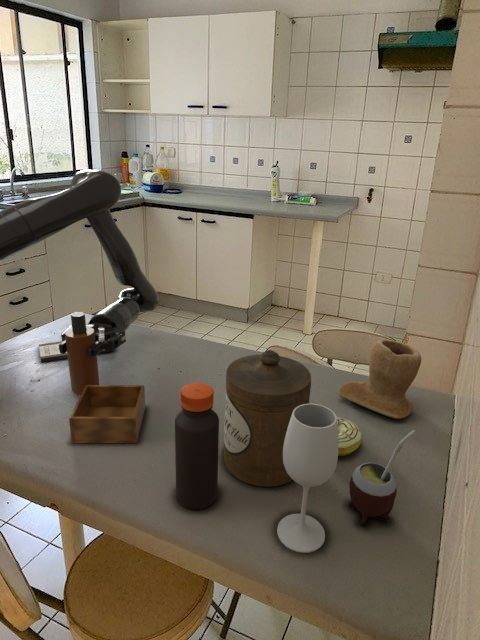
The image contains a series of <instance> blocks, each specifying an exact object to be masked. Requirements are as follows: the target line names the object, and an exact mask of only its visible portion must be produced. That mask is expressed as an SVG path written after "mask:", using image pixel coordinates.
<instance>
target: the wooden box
mask: <svg viewBox="0 0 480 640" xmlns="http://www.w3.org/2000/svg"><path fill="white" fill-rule="evenodd" d="M145 387H146V386H145V385H144V384H141V385H140V384H125V385H124V384H99V385H85V387H84V389H83V391H82V393H81V395H79V398H78V399H77V401H76V403H75V405H74V407H73V409H72V412H70V413H71V414H70V415H69V418H68V421H69V423H68V424H69V431H70V437H71V439H70V440H71V444H138V440H139V435H140V431H141V427H142V424H143V419H144V415H145V411H146V395H145V394H146V392H145Z"/></svg>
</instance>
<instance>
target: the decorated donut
mask: <svg viewBox="0 0 480 640" xmlns="http://www.w3.org/2000/svg"><path fill="white" fill-rule="evenodd" d="M336 417H337V424H338V457H345V456H348V455H351V454H352V453H353V452H355V451H356V450H357V449H358V448H360V445H361V442H362V431H361V430H360V428H359V427H358V425H357V424H356V422H353V421H351V420H349V419H347V418H345V417H344V418H343V417H340V416H337V415H336Z"/></svg>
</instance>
